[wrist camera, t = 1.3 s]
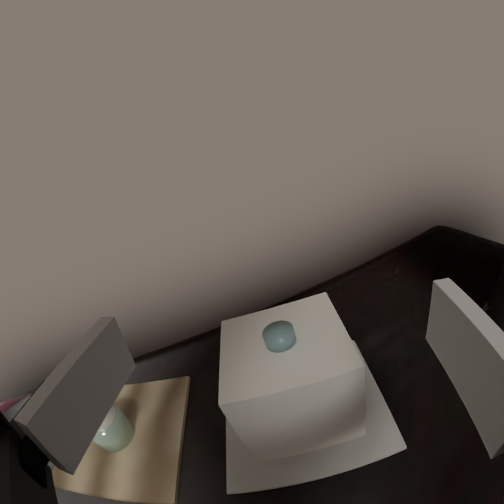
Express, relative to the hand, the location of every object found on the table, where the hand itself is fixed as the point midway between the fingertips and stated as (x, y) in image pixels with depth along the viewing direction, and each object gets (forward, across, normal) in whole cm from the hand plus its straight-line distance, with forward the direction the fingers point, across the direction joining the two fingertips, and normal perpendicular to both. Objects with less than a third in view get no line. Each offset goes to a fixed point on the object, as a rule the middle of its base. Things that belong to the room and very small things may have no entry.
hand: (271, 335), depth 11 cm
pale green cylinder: (+7, -21, -20) cm, 30 cm away
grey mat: (+10, 0, -18) cm, 20 cm away
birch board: (+7, -21, -20) cm, 30 cm away
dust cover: (+10, 0, -17) cm, 20 cm away
